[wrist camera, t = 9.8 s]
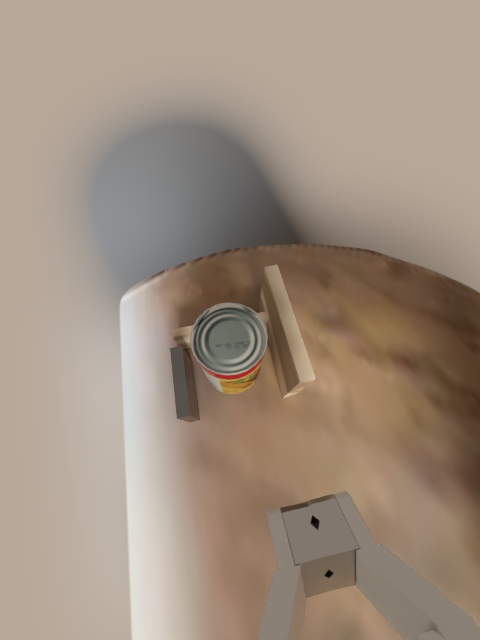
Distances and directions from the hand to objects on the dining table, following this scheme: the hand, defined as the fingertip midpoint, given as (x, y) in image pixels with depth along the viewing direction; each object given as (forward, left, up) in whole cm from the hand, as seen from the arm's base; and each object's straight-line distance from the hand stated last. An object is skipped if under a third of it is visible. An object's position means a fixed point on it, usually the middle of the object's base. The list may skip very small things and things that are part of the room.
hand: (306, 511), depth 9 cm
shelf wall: (+1, -14, -25) cm, 28 cm away
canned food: (+1, -12, -25) cm, 28 cm away
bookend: (+7, -10, -25) cm, 28 cm away
